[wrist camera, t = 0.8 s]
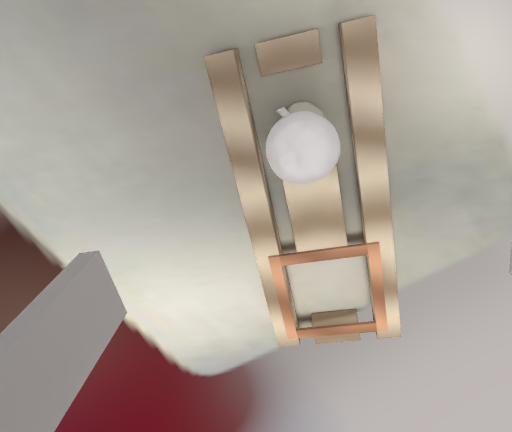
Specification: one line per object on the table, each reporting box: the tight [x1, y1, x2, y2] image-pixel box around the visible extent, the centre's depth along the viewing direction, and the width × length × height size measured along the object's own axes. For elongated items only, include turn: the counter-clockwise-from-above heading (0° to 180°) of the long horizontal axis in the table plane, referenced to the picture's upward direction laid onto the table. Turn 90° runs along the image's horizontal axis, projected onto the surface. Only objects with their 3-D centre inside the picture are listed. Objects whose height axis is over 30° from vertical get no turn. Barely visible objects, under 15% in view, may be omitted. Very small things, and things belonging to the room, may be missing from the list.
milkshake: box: [266, 101, 340, 184], centre depth 26 cm, size 4×5×10 cm
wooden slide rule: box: [204, 15, 401, 347], centre depth 33 cm, size 28×12×2 cm, turn 12°
